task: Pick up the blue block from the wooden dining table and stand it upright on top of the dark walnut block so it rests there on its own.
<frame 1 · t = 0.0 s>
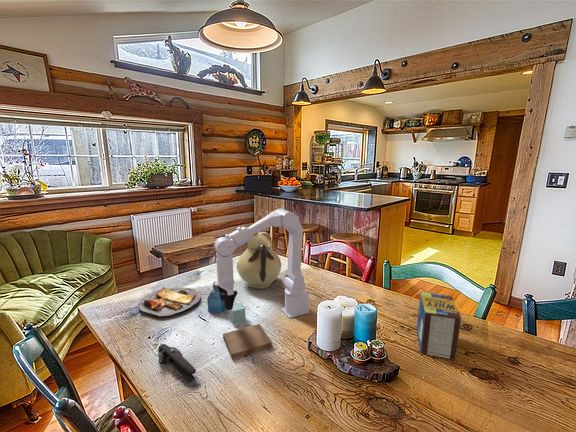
hand: (226, 304, 106), 10 cm above the table, tool pointing down, fingers open, 7 cm apart
blue block: (237, 320, 114), on the table
walnut block: (247, 344, 101), on the table
protein box: (434, 344, 101), on the table
perfume bottle: (218, 309, 123), on the table
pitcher: (260, 284, 147), on the table
food plate: (170, 304, 127), on the table
can opener: (177, 368, 89), on the table
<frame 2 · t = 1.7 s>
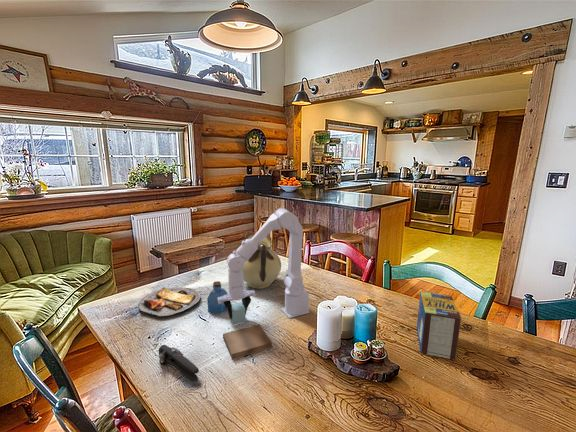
hand: (237, 315, 114), 2 cm above the table, tool pointing down, fingers closed on blue block, 5 cm apart
blue block: (237, 320, 114), on the table, touching gripper
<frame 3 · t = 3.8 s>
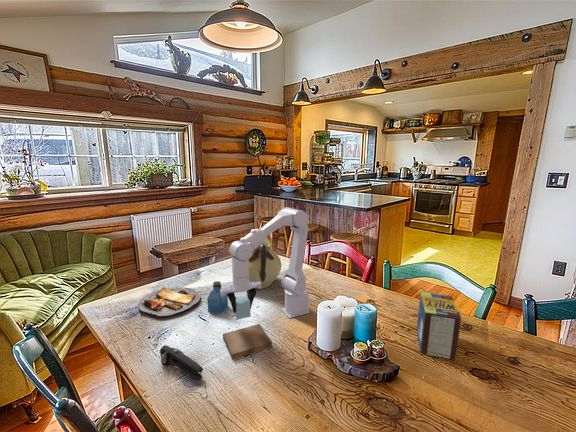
hand: (241, 309, 104), 9 cm above the table, tool pointing down, fingers closed on blue block, 5 cm apart
blue block: (241, 314, 105), point 7 cm above the table, touching gripper
when the fingers open (5 cm above the table, at t = 5.8 s): blue block drops 1 cm, resting on walnut block.
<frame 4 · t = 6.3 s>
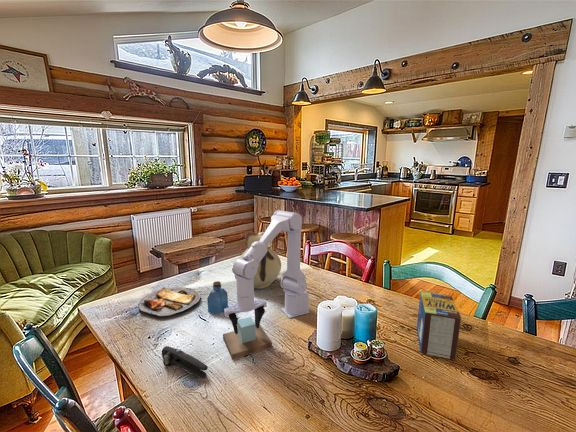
hand: (246, 329, 99), 5 cm above the table, tool pointing down, fingers open, 7 cm apart
blue block: (246, 337, 101), point 2 cm above the table, touching walnut block
walnut block: (247, 344, 101), on the table, touching blue block
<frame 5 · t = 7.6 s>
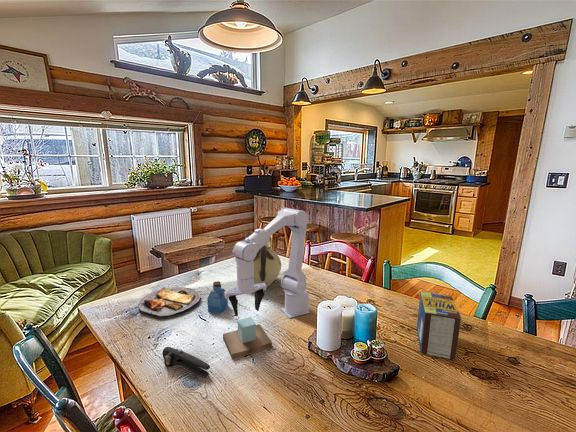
hand: (246, 312, 101), 10 cm above the table, tool pointing down, fingers open, 7 cm apart
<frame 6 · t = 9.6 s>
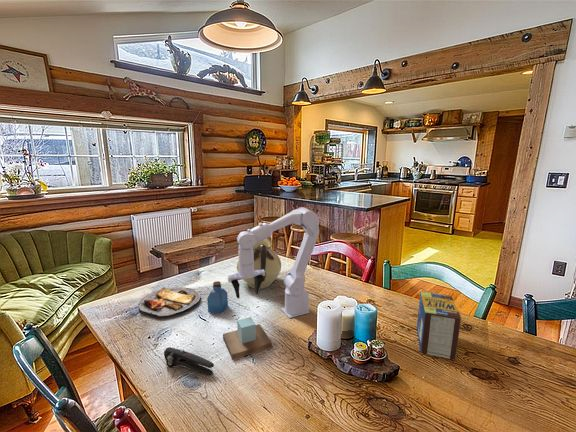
hand: (247, 295, 113), 10 cm above the table, tool pointing down, fingers open, 7 cm apart
at the end: blue block touching walnut block; blue block tilted 1° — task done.
